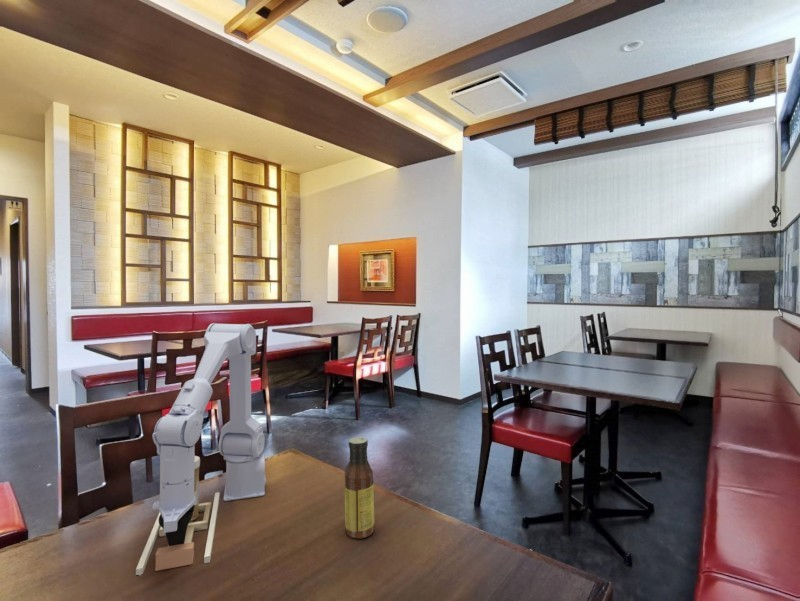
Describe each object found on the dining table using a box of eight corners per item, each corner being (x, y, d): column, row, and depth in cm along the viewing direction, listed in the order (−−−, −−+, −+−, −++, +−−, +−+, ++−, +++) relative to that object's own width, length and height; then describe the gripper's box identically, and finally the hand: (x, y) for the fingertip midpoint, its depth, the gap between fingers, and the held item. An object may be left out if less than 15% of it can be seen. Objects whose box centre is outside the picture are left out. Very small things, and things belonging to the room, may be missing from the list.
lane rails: (219, 496, 102) (219, 492, 102) (209, 562, 77) (210, 555, 77) (164, 504, 98) (164, 499, 98) (135, 575, 73) (136, 569, 73)
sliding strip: (211, 508, 96) (211, 495, 96) (201, 562, 77) (201, 546, 77) (167, 514, 93) (167, 501, 93) (145, 572, 74) (146, 556, 74)
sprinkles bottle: (174, 525, 89) (174, 463, 89) (178, 514, 93) (179, 455, 93) (197, 522, 90) (198, 461, 90) (200, 512, 95) (201, 453, 95)
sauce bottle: (376, 524, 91) (377, 435, 91) (371, 541, 85) (373, 445, 84) (347, 522, 92) (348, 433, 91) (340, 539, 85) (342, 444, 85)
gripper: (161, 465, 83) (160, 531, 84) (143, 499, 70) (142, 578, 70) (199, 460, 86) (199, 525, 86) (190, 493, 72) (189, 569, 72)
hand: (176, 548), depth 78 cm, fingers closed
